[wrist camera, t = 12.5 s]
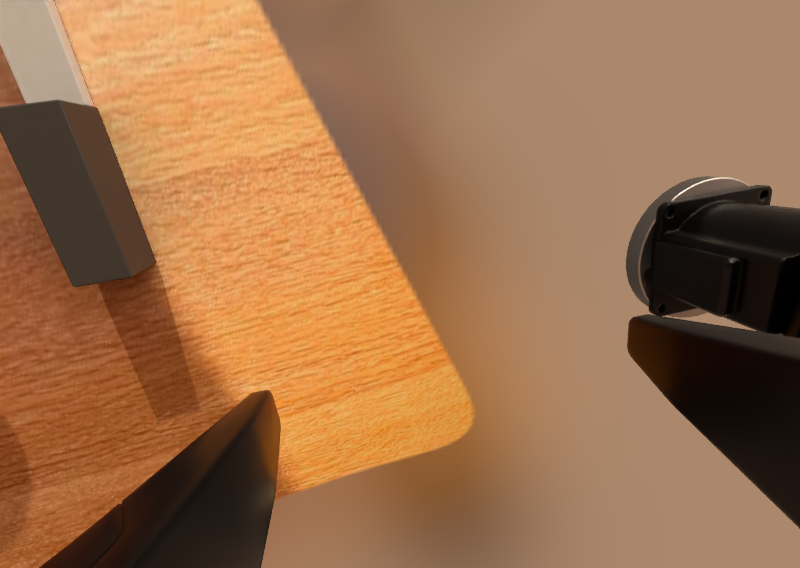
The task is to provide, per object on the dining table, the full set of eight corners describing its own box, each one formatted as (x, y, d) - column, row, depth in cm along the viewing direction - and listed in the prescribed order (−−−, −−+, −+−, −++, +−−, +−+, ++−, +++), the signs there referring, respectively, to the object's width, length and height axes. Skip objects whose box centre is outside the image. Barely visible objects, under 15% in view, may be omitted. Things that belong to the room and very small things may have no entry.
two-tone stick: (157, 263, 18) (132, 277, 16) (105, 272, 18) (72, 288, 16) (-25, -215, 13) (-102, -296, 10) (-104, -211, 12) (-201, -293, 10)
